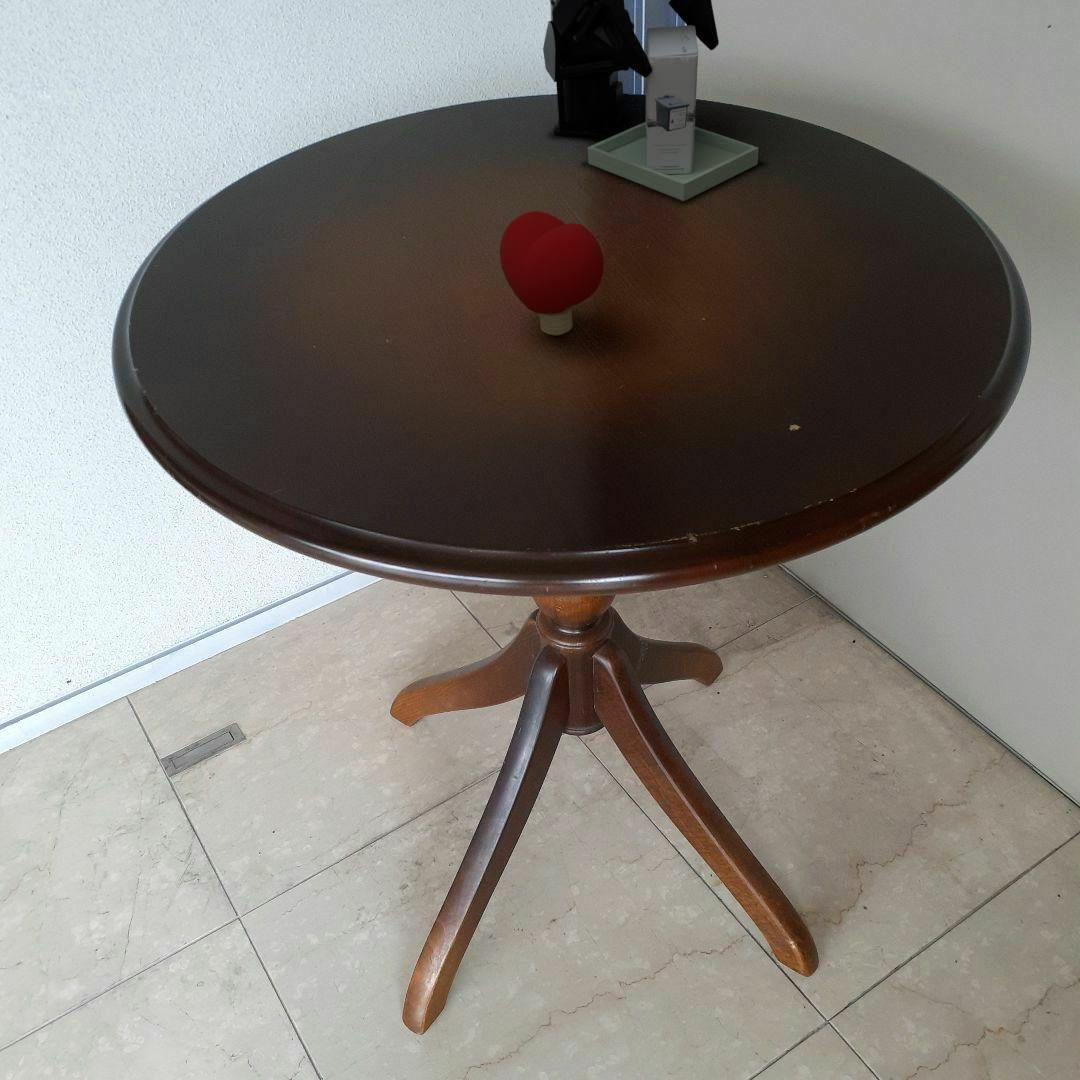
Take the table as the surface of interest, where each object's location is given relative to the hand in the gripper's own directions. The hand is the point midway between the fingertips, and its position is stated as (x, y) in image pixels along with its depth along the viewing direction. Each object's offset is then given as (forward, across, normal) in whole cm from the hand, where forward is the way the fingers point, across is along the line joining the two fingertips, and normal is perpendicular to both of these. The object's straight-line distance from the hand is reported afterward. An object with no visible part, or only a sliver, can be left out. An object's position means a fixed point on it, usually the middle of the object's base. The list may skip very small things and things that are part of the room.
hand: (682, 60), depth 100 cm
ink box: (+6, 0, +8) cm, 10 cm away
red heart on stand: (+18, -30, -2) cm, 35 cm away
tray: (+6, 0, +9) cm, 11 cm away
